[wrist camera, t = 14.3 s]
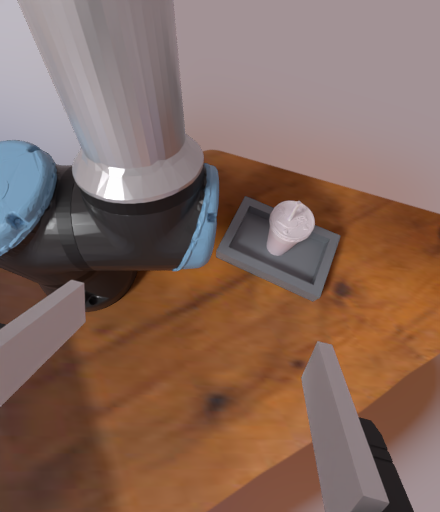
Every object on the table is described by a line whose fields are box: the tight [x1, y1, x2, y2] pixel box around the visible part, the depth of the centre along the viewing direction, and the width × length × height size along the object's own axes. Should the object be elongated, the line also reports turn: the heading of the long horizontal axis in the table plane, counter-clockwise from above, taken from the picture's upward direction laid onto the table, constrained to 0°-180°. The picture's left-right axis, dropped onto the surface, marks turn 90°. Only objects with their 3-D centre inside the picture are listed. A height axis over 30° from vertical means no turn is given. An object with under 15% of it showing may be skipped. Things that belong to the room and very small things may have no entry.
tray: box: [216, 196, 340, 301], centre depth 45 cm, size 18×12×3 cm, turn 64°
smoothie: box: [267, 201, 315, 256], centre depth 39 cm, size 6×6×14 cm
